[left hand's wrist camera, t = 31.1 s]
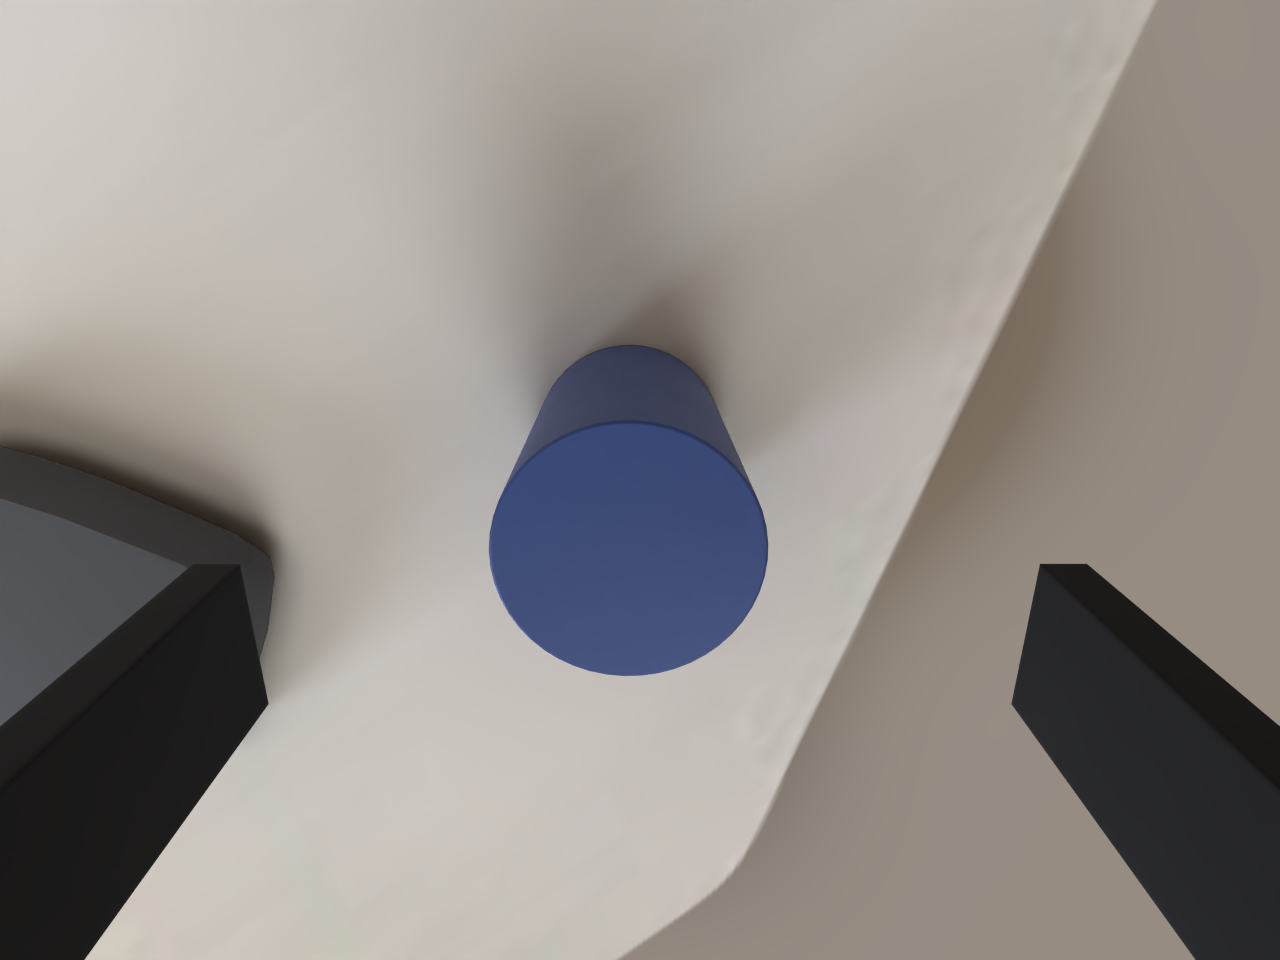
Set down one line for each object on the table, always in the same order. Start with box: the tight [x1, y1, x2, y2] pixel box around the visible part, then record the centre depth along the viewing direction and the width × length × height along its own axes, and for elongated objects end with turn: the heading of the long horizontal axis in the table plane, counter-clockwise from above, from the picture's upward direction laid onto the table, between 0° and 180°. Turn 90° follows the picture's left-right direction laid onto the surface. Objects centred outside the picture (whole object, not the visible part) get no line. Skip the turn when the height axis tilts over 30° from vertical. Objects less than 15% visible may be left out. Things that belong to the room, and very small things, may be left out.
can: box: [489, 345, 768, 676], centre depth 22 cm, size 6×6×10 cm
